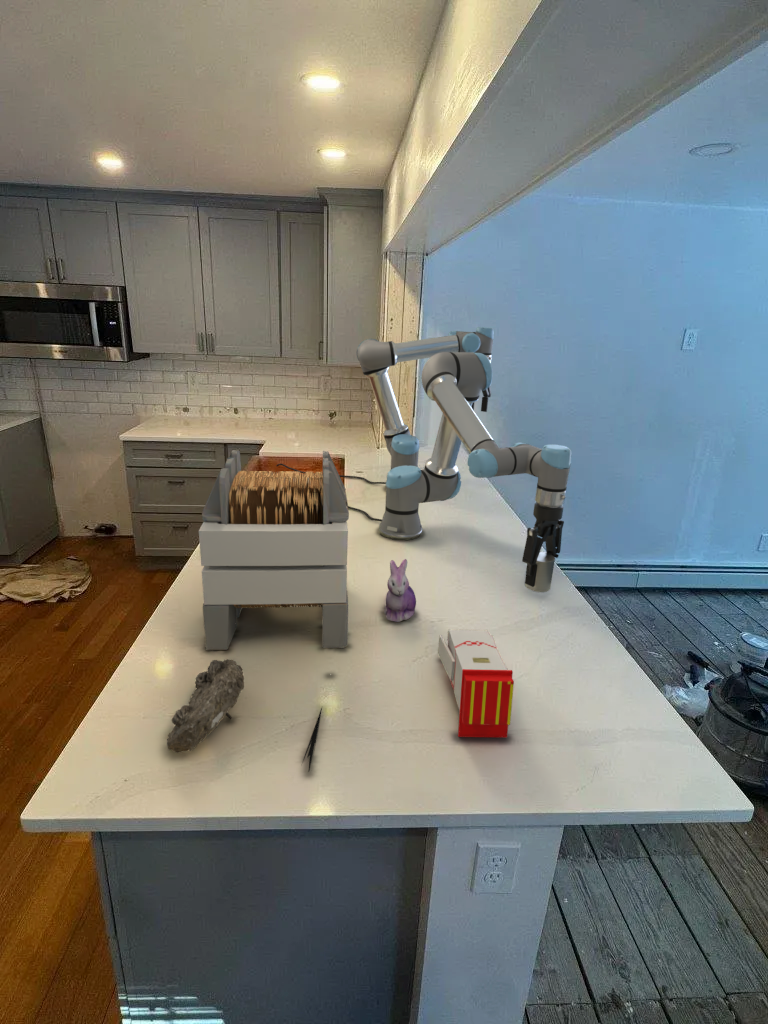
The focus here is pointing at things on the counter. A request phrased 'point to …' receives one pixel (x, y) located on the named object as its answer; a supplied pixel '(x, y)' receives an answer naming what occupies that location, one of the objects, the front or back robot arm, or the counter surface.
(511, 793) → the counter surface
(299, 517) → the record crate
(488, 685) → the toy
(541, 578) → the can
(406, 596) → the figurine
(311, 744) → the feather
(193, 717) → the fossil
